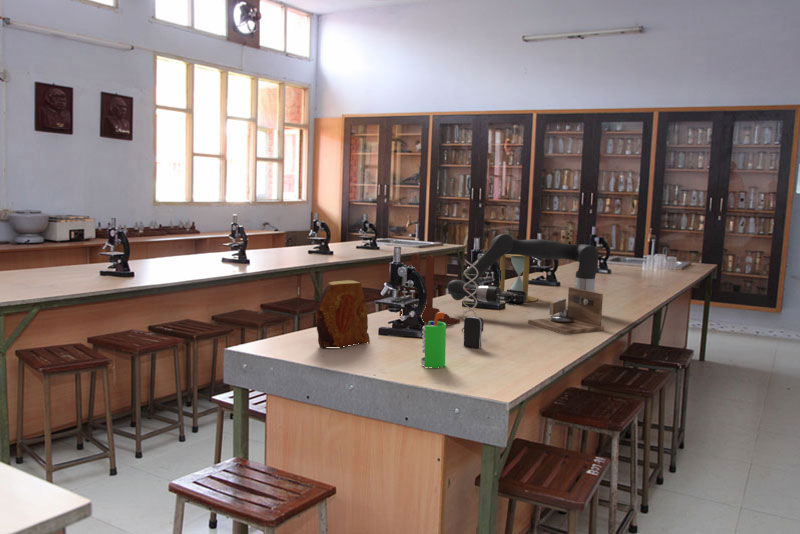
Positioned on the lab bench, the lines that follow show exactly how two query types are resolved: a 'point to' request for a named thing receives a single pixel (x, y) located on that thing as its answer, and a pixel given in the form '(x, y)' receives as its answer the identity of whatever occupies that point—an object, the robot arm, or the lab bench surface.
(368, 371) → the lab bench surface
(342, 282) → the fossil rock
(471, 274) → the dna model
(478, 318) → the battery charger
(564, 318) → the cam foot
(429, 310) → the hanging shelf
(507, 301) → the end cap
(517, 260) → the hourglass
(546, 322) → the levelling base
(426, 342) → the green-shelled ribbed roller
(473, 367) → the lab bench surface
